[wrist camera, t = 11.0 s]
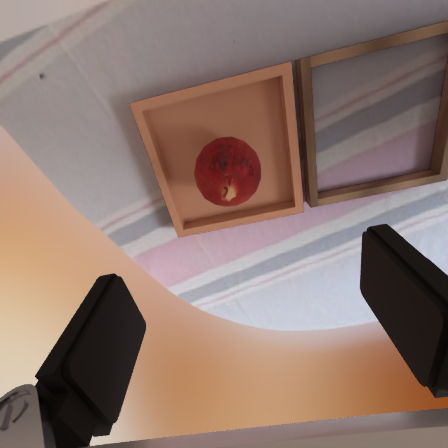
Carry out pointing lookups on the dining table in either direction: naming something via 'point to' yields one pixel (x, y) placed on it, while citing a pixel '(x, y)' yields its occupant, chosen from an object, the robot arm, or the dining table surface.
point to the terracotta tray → (217, 128)
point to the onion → (227, 171)
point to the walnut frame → (441, 155)
